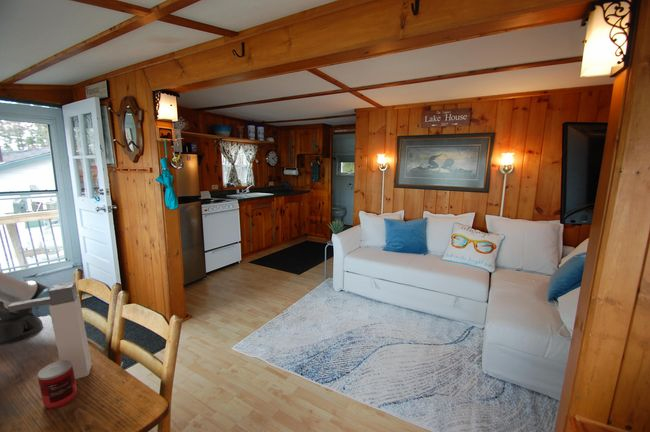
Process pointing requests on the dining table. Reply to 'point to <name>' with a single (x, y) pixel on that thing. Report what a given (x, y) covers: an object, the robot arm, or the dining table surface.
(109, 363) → the dining table surface
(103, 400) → the dining table surface
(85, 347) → the stand
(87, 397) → the dining table surface
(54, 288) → the steel bar
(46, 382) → the canned food
